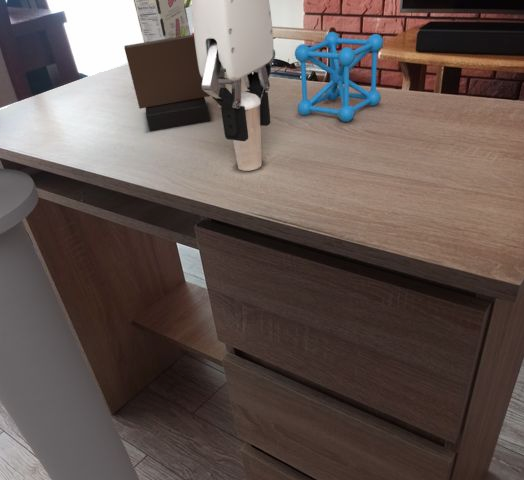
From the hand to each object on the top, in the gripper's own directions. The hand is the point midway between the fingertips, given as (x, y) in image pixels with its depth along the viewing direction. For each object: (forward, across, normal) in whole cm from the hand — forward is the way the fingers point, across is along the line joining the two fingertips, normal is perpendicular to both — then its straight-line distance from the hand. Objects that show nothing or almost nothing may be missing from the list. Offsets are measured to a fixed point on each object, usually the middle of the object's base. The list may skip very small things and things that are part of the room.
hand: (248, 130), depth 67 cm
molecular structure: (+5, -23, +2) cm, 24 cm away
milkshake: (+5, 0, 0) cm, 5 cm away
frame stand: (+5, -14, -24) cm, 28 cm away
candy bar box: (+5, -29, -36) cm, 46 cm away
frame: (+2, -14, -24) cm, 28 cm away
